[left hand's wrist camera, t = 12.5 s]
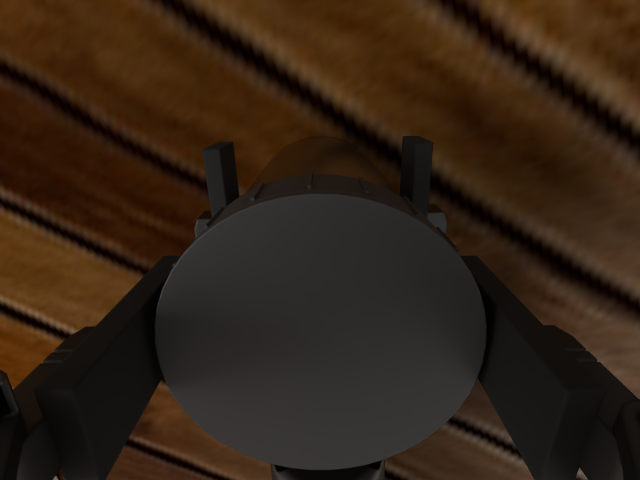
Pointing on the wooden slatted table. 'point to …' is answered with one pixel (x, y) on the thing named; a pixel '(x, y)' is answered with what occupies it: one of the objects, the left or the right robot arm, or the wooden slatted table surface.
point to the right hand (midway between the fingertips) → (317, 142)
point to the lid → (320, 324)
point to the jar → (320, 162)
